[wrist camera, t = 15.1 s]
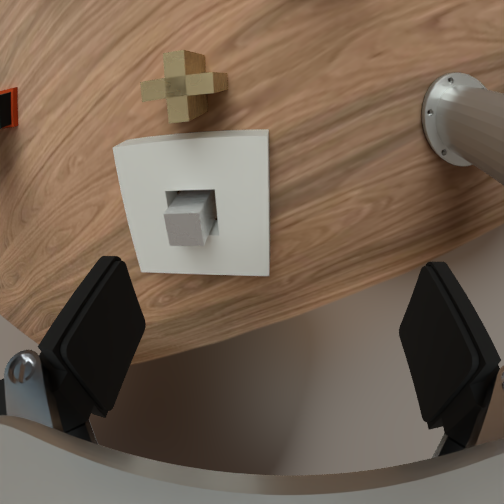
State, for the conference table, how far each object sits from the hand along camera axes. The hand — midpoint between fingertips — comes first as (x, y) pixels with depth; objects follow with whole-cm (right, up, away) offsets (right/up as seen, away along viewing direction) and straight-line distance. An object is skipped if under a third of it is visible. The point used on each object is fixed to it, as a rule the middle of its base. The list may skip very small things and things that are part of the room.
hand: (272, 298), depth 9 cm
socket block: (-7, +8, +29) cm, 31 cm away
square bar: (-7, +8, +29) cm, 31 cm away
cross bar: (-7, +21, +21) cm, 30 cm away
